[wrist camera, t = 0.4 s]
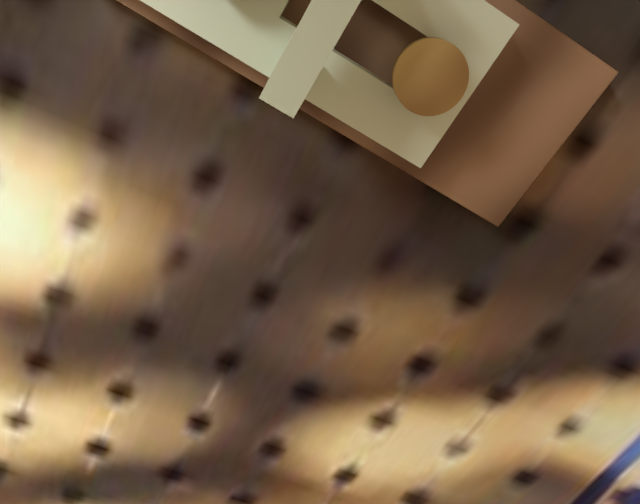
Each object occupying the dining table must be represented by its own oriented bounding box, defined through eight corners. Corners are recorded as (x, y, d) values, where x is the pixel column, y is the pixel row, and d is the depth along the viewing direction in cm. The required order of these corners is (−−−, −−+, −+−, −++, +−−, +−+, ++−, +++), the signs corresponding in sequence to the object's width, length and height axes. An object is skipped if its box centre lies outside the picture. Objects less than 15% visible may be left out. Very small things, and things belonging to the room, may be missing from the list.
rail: (83, -28, 31) (32, -29, 25) (164, -238, 27) (124, -292, 22) (489, 214, 36) (518, 256, 31) (601, 66, 32) (658, 85, 27)
